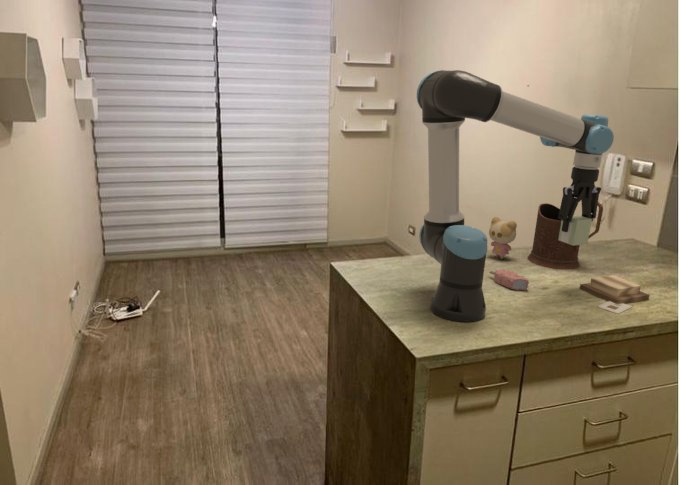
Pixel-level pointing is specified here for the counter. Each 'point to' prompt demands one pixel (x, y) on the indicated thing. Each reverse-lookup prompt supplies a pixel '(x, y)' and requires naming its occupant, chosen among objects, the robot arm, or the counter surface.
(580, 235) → the sage brick
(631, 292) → the base brick
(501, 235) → the toy
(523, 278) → the ice cream bar
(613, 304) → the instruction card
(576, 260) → the cup holder
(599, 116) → the robot arm
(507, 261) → the counter surface
